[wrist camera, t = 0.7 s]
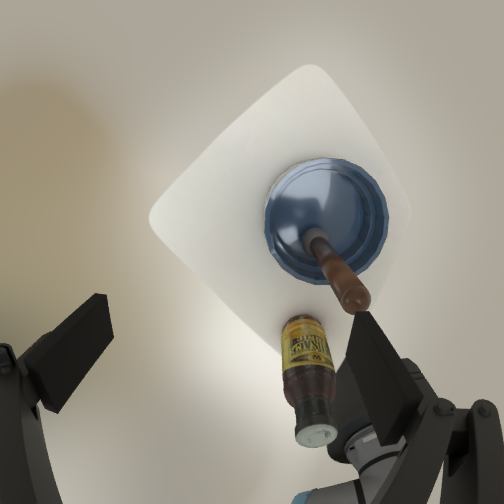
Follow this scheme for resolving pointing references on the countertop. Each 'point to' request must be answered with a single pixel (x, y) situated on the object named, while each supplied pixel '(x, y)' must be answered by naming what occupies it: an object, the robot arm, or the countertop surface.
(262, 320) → the countertop surface
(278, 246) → the bowl
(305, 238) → the wooden pestle
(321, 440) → the sauce bottle
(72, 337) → the robot arm
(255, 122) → the countertop surface
